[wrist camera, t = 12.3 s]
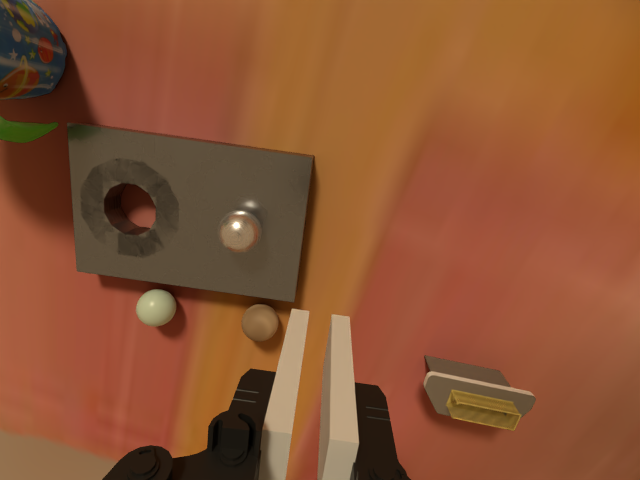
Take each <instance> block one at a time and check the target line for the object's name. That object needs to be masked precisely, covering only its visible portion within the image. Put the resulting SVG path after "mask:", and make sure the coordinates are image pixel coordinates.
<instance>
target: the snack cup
mask: <svg viewBox="0 0 640 480" xmlns="http://www.w3.org/2000/svg"><path fill="white" fill-rule="evenodd" d="M66 55H67V50H66V45H65V43H64V42H63V41H62V38H61V35H60V31H59V29H58V27H57V26H56V25H55V23H54V22H53V21H52V19H51V18H50V17H49V16H48V15H47V14H46V13H45V12H44V11H43V10H42V9H41V7H39V6H38V5H37V4H36V3H34V2H33V1H32V0H0V100H7V99H25V98H30V97H37V96H41V95H44V94H48V93H51V92H52V91H53V89H55V86H56V84H57V83H58V81H59V80H60V78H61V76H62V75H63V72H64V68H65V57H66ZM57 126H58V123H57V122H53V123H50V124H43V123H29V122H15V121H7V120H5V119H4V118H2V117H1V116H0V139H1V140H6V141H11V142H17V143H26V142H30V141H33V140H35V139H37V138H39V137H41V136H43V135H45V134H47V133H49V132H50V131H51V130H53V129H55V128H56V127H57Z"/></svg>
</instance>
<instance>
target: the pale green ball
mask: <svg viewBox="0 0 640 480" xmlns="http://www.w3.org/2000/svg"><path fill="white" fill-rule="evenodd" d="M136 312H137V316H138V318H139V319H140V320H141V321H142V322H143V323H144V324H146V325H149V326H161V325H164V324H166V323H167V322H169V321H170V320H171V319H172V318H173V316H174V314H175V312H176V301H175V299H174V297H173V296H172V295H171V294H170V293H169V292H167V291H165V290H162V289H154V290H150V291H148V292H146V293H145V294H143V295H142V296H141V297H140V299H139V300H138V303H137V306H136Z"/></svg>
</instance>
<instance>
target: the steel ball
mask: <svg viewBox="0 0 640 480" xmlns="http://www.w3.org/2000/svg"><path fill="white" fill-rule="evenodd" d="M261 235H262V229H261V225H260V222H259V220H258V219H257V218H256V217H255V216H254V215H253V214H252V213H250V212H248V211H244V210H235V211H231V212H229V213H227V214H226V215H225V216H224V217H223V218H222V219H221V221H220V223H219V225H218V238H219V240H220V242H221V244H222V245H223V246H224V247H225V248H226V249H228V250H229V251H231V252H235V253H245V252H248V251H250V250H252V249H253V248H255V247H256V246H257V244H258V243H259V241H260V239H261Z"/></svg>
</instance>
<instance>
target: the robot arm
mask: <svg viewBox="0 0 640 480" xmlns="http://www.w3.org/2000/svg"><path fill="white" fill-rule="evenodd" d="M308 318H309V311H306V310H299V309H292V310H291V315H290V319H289V323H288V327H287V331H286V335H285V339H284V343H283V347H282V351H281V355H280V359H279V363H278V368H277V372H271V371H264V370H257V369H250V370H249V371H247V372H246V373H245V374H244V375H243V376H242V377H241V379H240V381H239V384H238V387H237V390H236V392H235V394H234V397H233V400H232V402H231V405H230V407H229V410H228V411H225V412H222V413H220V414H219V415H218V416H216V417H215V418H213V420H212V421H211V423H210V425H209V427H208V445H207V449H206V450H204V451H202V452H200V453H197V454H194V455H190V456H184V457H178V458H172V456H171V455H170V453H169V451H167V450H166V449H164V448H162V447H159V446H152V445H150V446H145V447H140V448H137V449H135V450H133V451H131V452H129V453H128V454H127V455H125V456H124V457H123V458H122V459H121V460H119V462H118V463H117V464H116V465H115V466H114V467H113V468H112V470H111V471H110V472H109V473H108V474H107V475H106V476H105V477H104V478H103V479H102V480H285V478H286V471H287V464H288V457H289V450H290V443H291V436H292V429H293V422H294V415H295V408H296V401H297V394H298V388H299V381H300V374H301V367H302V360H303V353H304V346H305V339H306V332H307V325H308ZM317 480H411V479H409V478H408V476H407V474H406V471H405V470H404V469H403V467H402V466H401V465H400V463H399V462H398V459H397V453H396V448H395V443H394V438H393V432H392V427H391V422H390V417H389V411H388V406H387V401H386V397H385V395H384V394H383V392H382V391H381V389H380V388H379V387H378V386H376V385H369V384H362V383H355V382H354V371H353V358H352V345H351V332H350V319H349V317H348V316H341V315H334V314H332V317H331V323H330V329H329V335H328V341H327V347H326V353H325V360H324V366H323V381H322V400H321V419H320V439H319V458H318V478H317Z"/></svg>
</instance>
